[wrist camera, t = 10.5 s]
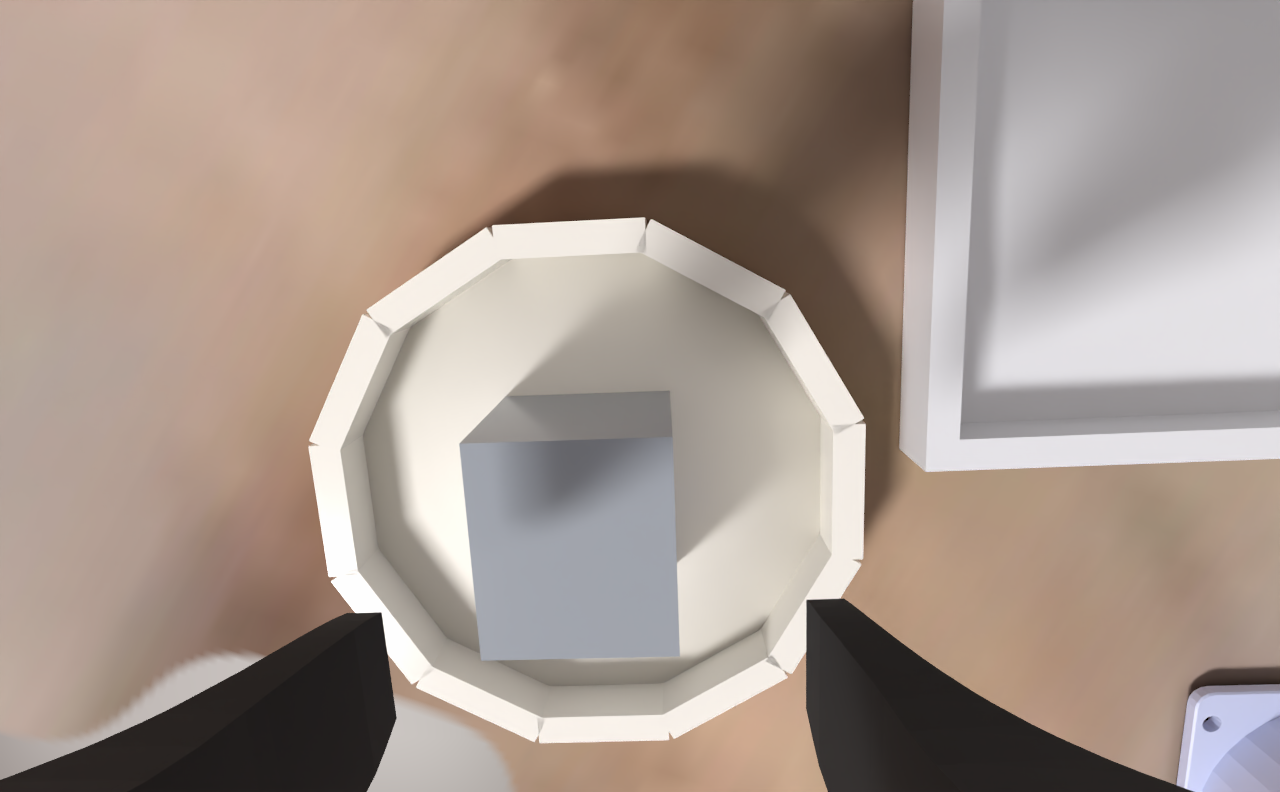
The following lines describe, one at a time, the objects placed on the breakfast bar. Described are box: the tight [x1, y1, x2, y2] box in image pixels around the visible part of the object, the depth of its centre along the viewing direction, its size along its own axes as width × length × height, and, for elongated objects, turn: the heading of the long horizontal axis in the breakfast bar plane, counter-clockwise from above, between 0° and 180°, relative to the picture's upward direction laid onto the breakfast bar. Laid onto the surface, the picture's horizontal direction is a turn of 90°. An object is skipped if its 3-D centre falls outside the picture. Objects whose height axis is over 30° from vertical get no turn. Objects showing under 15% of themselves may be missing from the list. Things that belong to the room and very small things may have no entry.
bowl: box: [308, 217, 866, 743], centre depth 19 cm, size 14×14×2 cm
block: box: [459, 391, 680, 661], centre depth 17 cm, size 5×4×4 cm
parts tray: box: [899, 0, 1280, 472], centre depth 17 cm, size 13×13×2 cm
